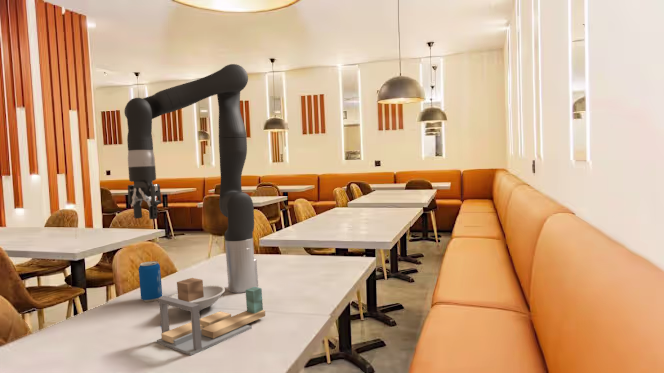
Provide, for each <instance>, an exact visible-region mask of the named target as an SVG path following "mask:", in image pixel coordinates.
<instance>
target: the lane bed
mask: <svg viewBox="0 0 664 373" xmlns="http://www.w3.org/2000/svg"><path fill="white" fill-rule="evenodd" d="M157 301H158V303H159V314H160V326H161V333H164V332H167V331H169V330H170V319H169V307H168V306H170V307H174V308H177V309H180V308H181V309H180V310H182V309H184V310H183V311H186V310H188V312H190V321H191V322H192V333H190V334H188V335H185V336H183V337H180V338H178V339H175V340H173V342H174V343H170V342H167V341H164V340H162V337H161V338H159V339H156V344H160V345H162V346H164V347H168V348H170V349H173V350H175V351H177V352H180V353H183V354H186V355H188V356H194V355H195V354H198V353H200V352H202V351H205V350H206V349H209V348H210V347H213V346H215V345H217V344H219V343H222V342H224V341H227V340H228V339H231V338H233V337H235V336H237V335H240V334H242V333H244V332H246V331H249V330H251V329H252V325H249V324H246V325H244V326H241V327H239V328H237V329H234V330H232V331H230V332H227V333H225V334H223V335H220V336H218V337H216V338H210V337H207V336H204V335H202V331H201V329H200V319H201V318H200V317H201V316H200V311H199V309H200V305H199V304H195V303H191V302H187V301H183V300H179V299H175V298H171V296H167V295H164V296H162V297H160V298H158V300H157ZM203 328H204V327H203Z"/></svg>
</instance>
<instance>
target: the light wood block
mask: <svg viewBox="0 0 664 373" xmlns="http://www.w3.org/2000/svg"><path fill="white" fill-rule="evenodd" d="M229 317H232V313H229V312H226V311H225V312H224V311H221V310H220V311H218V312H214V313H213V314H209V315H207V316H205V317H201V318H200V325H203V327H207V326H209V325H212V324H214V323H217V322H219V321H222V320H224V319H227V318H229Z"/></svg>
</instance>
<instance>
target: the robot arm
mask: <svg viewBox="0 0 664 373" xmlns="http://www.w3.org/2000/svg"><path fill="white" fill-rule="evenodd" d="M248 75H249V74H248V72H247V70H246V69H245V68H244V67H243V66H242V65H239V64H237V63H236V64H235V63H231V64H227V65H224V66H223V67H222V68H221V69H219V70H216V71H215V72H213V73H211V74H208V75H206V76H204V77H201V78H198V79H195V80H192V81H189V82H184V83H181V84H178V85H175V86H172V87H169V88H166V89H163V90H160V91H157V92H156V93H154V94H152V95H150V96H146V97H133V98H131V99H130V100H129V101H127V103H126V105H125V107H124V115H125V118H126V121H127V123H126V124H127V136H126V137H127V138H126V139H127V166H128V179H129V182H133V184H129V185H127V198H128V200H127V201H128V205H131V206H132V207H133V217H134V219H141V218H143V210H142V203H143V201H144V202H146V203H147V206H148V213H149V214H148V216H149V220H157V219H158V206H159V205H161V204H162V194H161V185H160V183H155V184H153V183H154V182H153V181H156V180H157V170H156V169H157V168H156V159H155V152H154V142H153V134H152V128H153V120H154V119H156V118H159V117H160V116H162V115H166V114H169V113H172V112H176V111H178V110H182V109H184V108H187V107H189V106H192V105H194V104H197V103H199V102H200V101H203V100H205V99H208V98H211V97H212V96H217V102H218V103H217V105H218V151H219V152H218V153H219V170H220V171H219V172H220V188H219V200H218V203H219V204H218V206H219V210H220V212H221V213H222V215H223V216H224V217H226V218H227V229H226V231H225V232H224V243H225V244H224V245H225V247H224V248H225V259H226V270H227V271H226V272H227V285H228V288H227V289H228V291H229V292H231V293H233V294H235V293H237V294H238V293H246V289H249V288H252V287H257V288H259V277H258V276H259V275H258V262H257V259H256V258H255V255H254V254H255V252H254V251H255V250H254V237H253V235H254V234H253V232H254V230H255V213H254V212H255V209H254V207H255V206H254V202H253V199H252V197H251V196H250V194H248V193H246V192H243V190H242V173H243V170H244V166H245V162H246V160H247V154H248V145H247V144H248V142H247V140H248V139H247V131H246V126H245V124H244V120H243V117H242V113H241V102H240V101H241V100H240V99H241V91H243V90H244V89H245V88H246V86H247V85H248V82H249V81H248V80H249V76H248Z"/></svg>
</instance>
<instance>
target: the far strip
mask: <svg viewBox="0 0 664 373" xmlns="http://www.w3.org/2000/svg"><path fill="white" fill-rule="evenodd" d="M202 328H203V325H200V329H202ZM190 333H192V322H187V323H185V324H183V325H180V326H177V327H174V328H172V329H169V331H167V332H164V333H162V332H161V334H160V335H161V338H162V340H164V341H167V342H170V343H174V342H173V340H175V339H178V338H180V337H183V336H185V335H188V334H190Z"/></svg>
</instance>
